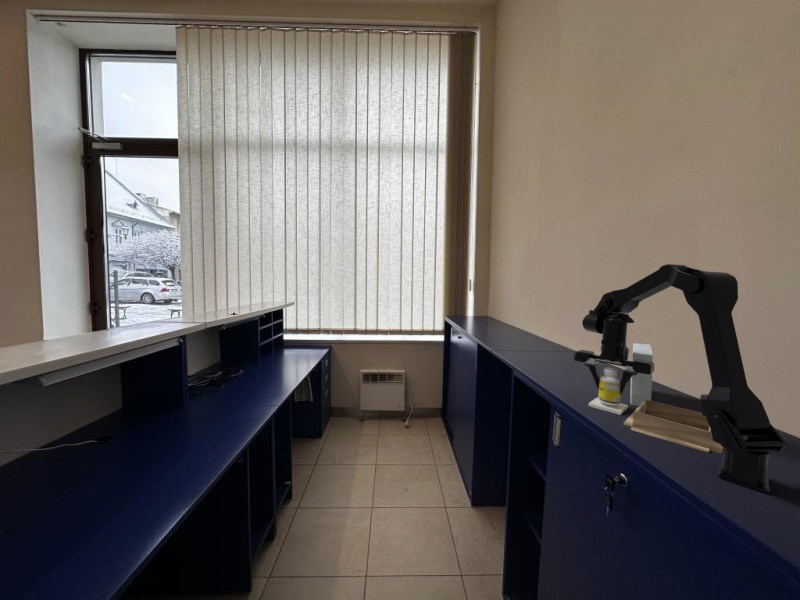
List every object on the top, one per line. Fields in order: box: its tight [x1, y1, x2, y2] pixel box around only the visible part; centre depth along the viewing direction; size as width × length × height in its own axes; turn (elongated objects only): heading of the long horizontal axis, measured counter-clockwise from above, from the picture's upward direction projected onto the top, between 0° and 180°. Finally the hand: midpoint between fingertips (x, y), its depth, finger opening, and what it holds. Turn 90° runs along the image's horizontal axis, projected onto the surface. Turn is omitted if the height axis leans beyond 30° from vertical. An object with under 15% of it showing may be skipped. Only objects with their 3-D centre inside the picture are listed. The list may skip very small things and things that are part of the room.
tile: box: [587, 396, 629, 416], centre depth 95 cm, size 8×8×1 cm
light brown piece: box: [622, 399, 724, 455], centre depth 81 cm, size 18×18×4 cm
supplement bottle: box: [597, 366, 622, 406], centre depth 95 cm, size 5×5×10 cm
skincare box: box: [629, 342, 654, 407], centre depth 105 cm, size 21×6×16 cm, turn 144°
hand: (609, 390), depth 95 cm, fingers closed on supplement bottle, 5 cm apart
